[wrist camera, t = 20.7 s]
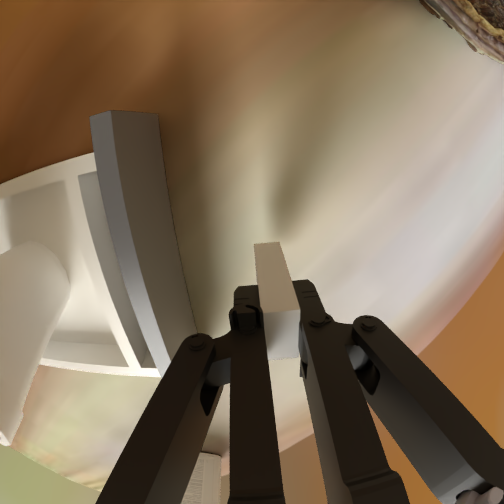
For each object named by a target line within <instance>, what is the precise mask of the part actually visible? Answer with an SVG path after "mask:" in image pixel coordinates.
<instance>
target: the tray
mask: <svg viewBox="0 0 504 504" xmlns="http://www.w3.org/2000/svg"><path fill="white" fill-rule="evenodd" d="M90 127H91V135H92V143H93V150H94V152H93V153H89V154H86V155H82V156H79V157H75V158H72V159H68V160H65V161H62V162H59V163H56V164H53V165H50V166H47V167H44V168H41V169H38V170H35V171H33V172H30V173H27V174H25V175H22V176H19V177H17V178H14V179H12V180H9V181H7V182H4V183H2V184H0V254H2V253H4V252H6V251H8V250H10V249H12V248H14V247H16V246H18V245H20V244H22V243H25V242H27V241H30V240H31V241H34V242H38V243H41V244H44V245H45V246H46V247H47V248H48V249H49V250H51V251H52V252H53V253H54V254H55V255H56V256H57V258H58V259H59V261H60V262H61V264H62V265H63V267H64V268H65V270H66V273H67V276H68V280H69V283H70V296H69V301H68V302H67V305H66V307H65V309H64V311H63V313H62V315H61V317H60V319H59V321H58V323H57V325H56V327H55V329H54V331H53V333H52V335H51V338H50V340H49V342H48V344H47V346H46V349H45V351H44V353H43V356H42V358H41V360H40V363H39V364H40V365H46V366H51V367H57V368H64V369H71V370H78V371H86V372H95V373H104V374H116V375H129V376H148V377H161V378H162V377H163V376H164V374H165V372H166V370H167V368H168V366H169V365H170V363H171V361H172V359H173V357H174V356H175V354H176V352H177V350H178V348H179V347H180V345H181V343H182V342H183V340H184V339H185V338H187V337H188V336H190V335H193V334H198V333H197V329H196V325H195V322H194V317H193V313H192V309H191V305H190V301H189V297H188V292H187V288H186V283H185V279H184V274H183V270H182V265H181V260H180V255H179V250H178V245H177V240H176V235H175V229H174V224H173V218H172V212H171V206H170V200H169V194H168V188H167V181H166V175H165V168H164V161H163V153H162V145H161V137H160V128H159V119H158V114H153V113H143V112H131V111H117V110H109V111H106V112H103V113H99V114H96V115H93V116H90Z"/></svg>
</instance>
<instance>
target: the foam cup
mask: <svg viewBox="0 0 504 504" xmlns="http://www.w3.org/2000/svg"><path fill="white" fill-rule="evenodd" d="M69 296H70V283H69V280H68V276H67V273H66V270H65V268H64V267H63V265H62V264H61V262H60V261H59V259H58V258H57V256H56V255H55V254H54V253H53V252H52V251H51V250H49V249H48V248H47V247H46V246H45V245H44V244H41V243H38V242H34V241H31V240H30V241H27V242H25V243H22V244H20V245H18V246H16V247H14V248H12V249H10V250H8V251H6V252H4V253H2V254H0V443H1V444H2V445H4V446H8V445H11V443H12V440H13V438H14V436H15V433H16V431H17V429H18V427H19V425H20V422H21V420H22V418H23V416H24V414H23V412H22V409H23V406H24V403H25V400H26V397H27V394H28V391H29V389H30V386H31V383H32V380H33V378H34V375H35V373H36V370H37V368H38V365H39V363H40V360H41V358H42V356H43V353H44V351H45V349H46V346H47V344H48V342H49V340H50V338H51V335H52V333H53V331H54V329H55V327H56V325H57V323H58V321H59V319H60V317H61V315H62V313H63V311H64V309H65V307H66V305H67V302H68V301H69Z"/></svg>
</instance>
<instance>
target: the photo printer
mask: <svg viewBox="0 0 504 504" xmlns="http://www.w3.org/2000/svg"><path fill="white" fill-rule="evenodd" d="M220 486H221V457H220V456H219V455H213V454H208V453H201V452H200V454H199V457H198V459H197V462H196V465H195V467H194V470H193V473H192V475H191V478H190V481H189V483H188V486H187V489H186V491H185V494H184V497H183V499H182V502H181V504H220Z"/></svg>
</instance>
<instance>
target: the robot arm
mask: <svg viewBox="0 0 504 504" xmlns="http://www.w3.org/2000/svg"><path fill="white" fill-rule="evenodd" d="M254 252H255V265H256V277H257V285H250V286H238V288H237V289H236V290H235V292H234V307H233V308H232V309H231V310H230V312H229V320H230V326H231V330H230V331H229V332H228V333H227V334H225V335H224V336H221V337H219V338H215V339H212V337H210V336H209V335H207V334H203V333H201V334H193V335H190V336H188V337H187V338H185V339H184V340H183V342H182V343H181V345H180V347H179V348H178V350H177V352H176V354H175V356H174V357H173V359H172V361H171V363H170V365H169V366H168V368H167V370H166V372H165V374H164V376H163V377H162V379H161V381H160V383H159V385H158V386H157V388H156V390H155V392H154V394H153V396H152V397H151V399H150V401H149V403H148V405H147V407H146V408H145V410H144V412H143V414H142V416H141V418H140V420H139V421H138V423H137V425H136V427H135V429H134V431H133V433H132V434H131V436H130V438H129V440H128V442H127V444H126V446H125V448H124V449H123V451H122V453H121V455H120V457H119V459H118V461H117V463H116V465H115V467H114V469H113V470H112V472H111V474H110V476H109V478H108V480H107V482H106V484H105V486H104V488H103V490H102V492H101V494H100V496H99V498H98V500H97V502H96V504H181V502H182V499H183V497H184V494H185V491H186V489H187V486H188V483H189V481H190V478H191V475H192V473H193V470H194V467H195V465H196V462H197V459H198V457H199V454H200V451H201V448H202V446H203V443H204V440H205V437H206V435H207V432H208V429H209V426H210V424H211V421H212V418H213V415H214V412H215V410H216V407H217V404H218V401H219V398H220V396H221V393H222V390H223V386H224V385H225V384H228V383H230V496H229V499H228V503H227V504H286V503H285V497H284V492H283V484H282V475H281V467H280V458H279V449H278V441H277V432H276V423H275V415H274V406H273V398H272V389H271V381H270V372H269V364H268V361H269V360H279V359H288V358H297V357H299V353H300V357H301V362H300V377H302V376H303V381H304V386H305V390H306V395H307V400H308V404H309V409H310V414H311V419H312V423H313V428H314V433H315V438H316V443H317V447H318V453H319V458H320V463H321V468H322V474H323V479H324V484H325V489H326V495H327V501H328V504H410V503H409V499H408V496H407V493H406V490H405V486H404V483H403V481H402V478H401V477H400V475H399V474H398V473H397V472H395V471H393V470H391V469H390V467H389V465H388V462H387V459H386V456H385V453H384V450H383V447H382V444H381V441H380V439H379V435H378V433H377V430H376V427H375V424H374V421H373V418H372V416H371V413H370V410H369V407H368V405H367V402H368V404H369V405H370V406H371V408H372V409H373V411H374V412H375V413H376V415H377V416H378V418H379V419H380V420H381V422H382V423H383V425H384V426H385V427H386V429H387V430H388V431H389V433H390V434H391V435H392V437H393V438H394V439H395V441H396V442H397V444H398V445H399V447H400V448H401V449H402V451H403V452H404V454H405V455H406V457H407V458H408V459H409V461H410V462H411V464H412V465H413V466H414V468H415V469H416V471H417V472H418V473H419V475H420V476H421V478H422V479H423V480H424V482H425V483H426V485H427V486H428V487H429V489H430V490H431V491H432V493H433V494H434V495H435V496H436V497H437V499H438V500H440V501H441V502H442V503H443V504H504V449H502V448H500V446H499V445H498V444H497V443H496V442H495V440H494V439H493V438H492V437H491V436H490V435H489V433H488V432H487V431H486V430H485V429H484V428H483V427H482V425H481V424H480V423H479V422H478V421H477V420H476V419H475V418H474V416H472V414H471V413H470V412H469V411H468V410H467V409H466V408H465V407H464V405H463V404H462V403H461V402H460V401H459V400H458V399H457V398H456V397H455V396H454V395H453V394H452V392H451V391H450V390H449V389H448V388H447V387H446V386H445V385H444V384H443V383H442V382H441V381H440V380H439V379H438V378H437V377H436V375H435V374H434V373H432V371H431V370H430V369H429V368H428V367H427V366H426V365H425V364H424V363H423V362H422V361H421V360H420V359H419V358H418V357H417V356H416V355H415V354H414V353H413V352H412V351H411V350H410V349H409V348H408V347H407V346H406V345H405V344H404V343H403V342H402V341H401V340H400V339H399V338H398V337H397V336H396V335H395V334H394V333H393V332H392V331H391V330H390V329H389V328H388V327H387V326H386V325H385V324H384V323H383V322H382V321H381V320H380V319H378V318H377V317H374V316H368V315H364V316H360V317H358V318H356V319H355V320H354V322H353V324H343V323H338V322H335V321H334V319H333V318H332V317H331V316H330V315H328V314H327V313H326V312H325V310H324V307H323V305H322V302H321V300H320V298H319V295H318V293H317V291H316V288H315V286H314V284H313V283H312V282H310V281H309V280H308V279H307V280H297V281H291V277H290V274H289V271H288V268H287V264H286V261H285V258H284V255H283V252H282V249H281V246H280V242H272V243H260V244H254ZM366 401H367V402H366Z"/></svg>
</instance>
